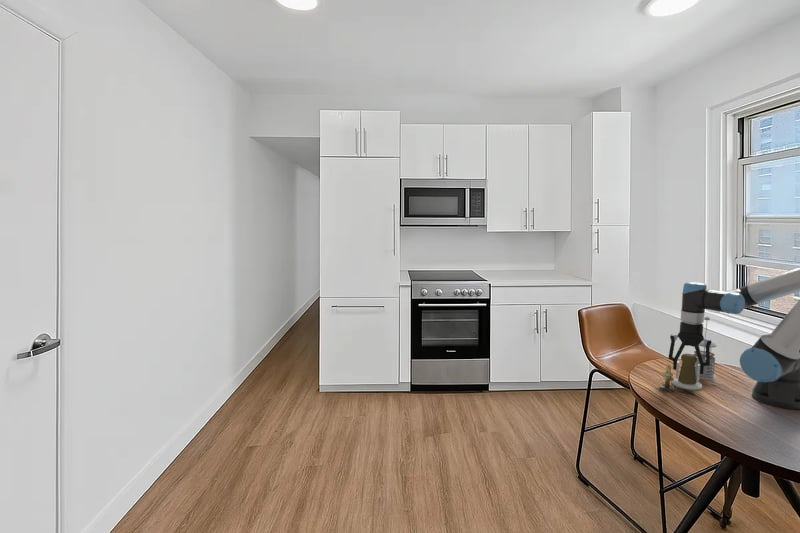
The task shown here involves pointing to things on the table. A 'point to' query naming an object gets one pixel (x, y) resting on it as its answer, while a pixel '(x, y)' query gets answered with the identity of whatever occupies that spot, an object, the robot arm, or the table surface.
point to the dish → (687, 385)
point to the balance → (667, 379)
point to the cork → (688, 369)
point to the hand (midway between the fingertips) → (687, 379)
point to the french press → (707, 371)
